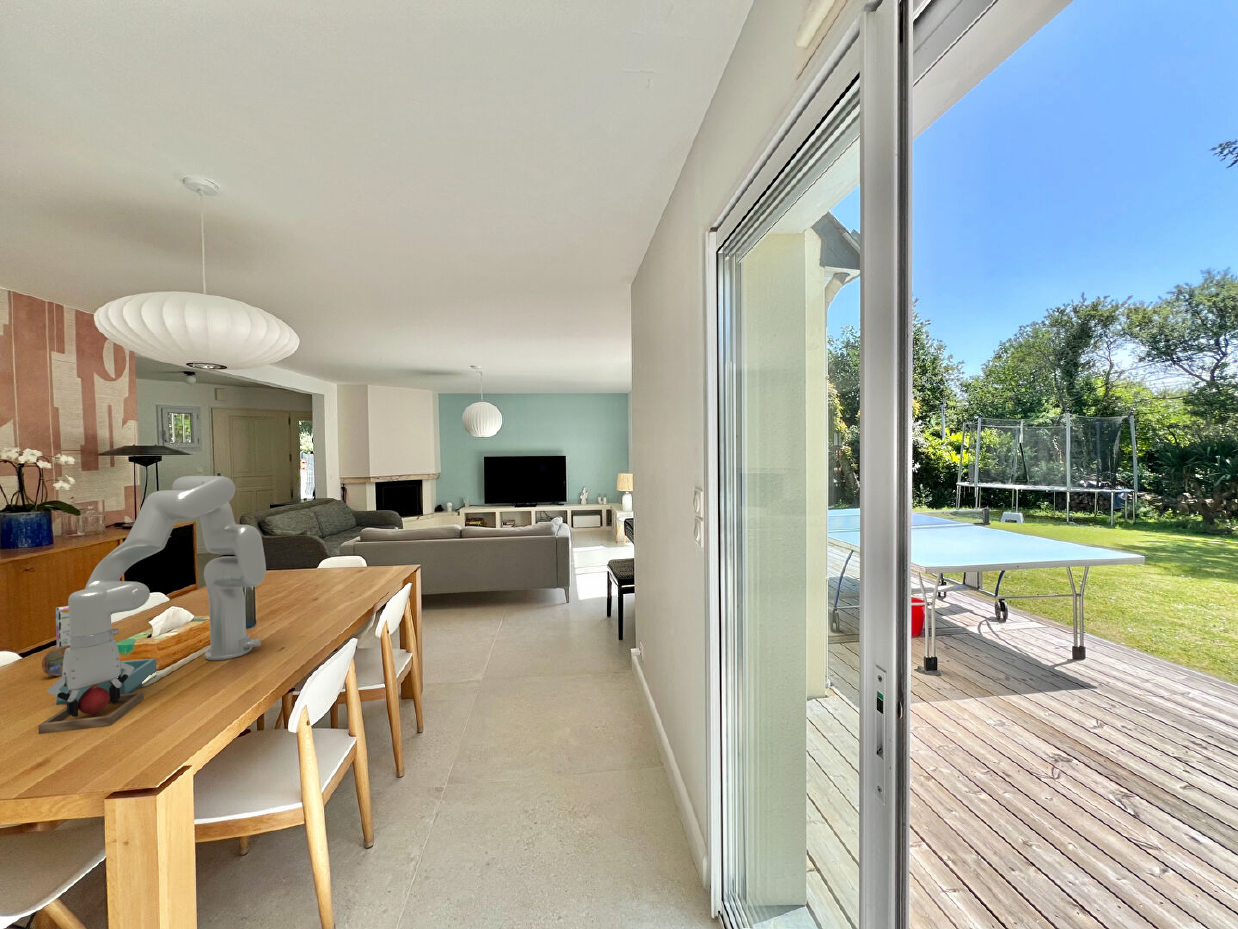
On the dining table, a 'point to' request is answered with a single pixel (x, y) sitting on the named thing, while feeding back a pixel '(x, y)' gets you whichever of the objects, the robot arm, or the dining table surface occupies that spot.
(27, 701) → the dining table surface
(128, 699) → the frame
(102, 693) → the onion
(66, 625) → the candy bar box
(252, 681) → the dining table surface
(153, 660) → the bin
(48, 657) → the tin
